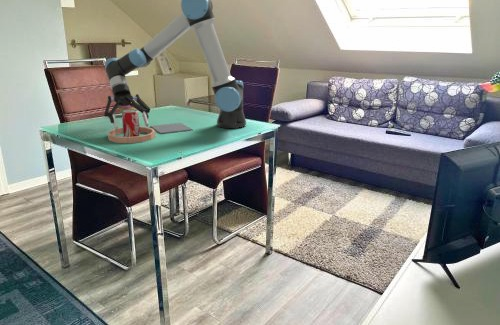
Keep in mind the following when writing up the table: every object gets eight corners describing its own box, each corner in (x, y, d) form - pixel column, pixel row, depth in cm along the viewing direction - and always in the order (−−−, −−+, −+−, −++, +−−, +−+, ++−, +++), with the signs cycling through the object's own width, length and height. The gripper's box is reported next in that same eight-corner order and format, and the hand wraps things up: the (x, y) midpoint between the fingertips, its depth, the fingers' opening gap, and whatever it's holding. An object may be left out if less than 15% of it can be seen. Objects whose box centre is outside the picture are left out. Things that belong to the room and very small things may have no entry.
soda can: (131, 140, 166) (129, 113, 162) (120, 137, 170) (117, 111, 166) (143, 136, 172) (141, 110, 168) (132, 134, 175) (130, 108, 172)
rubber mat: (180, 123, 198) (180, 122, 198) (192, 130, 185) (192, 129, 185) (150, 127, 190) (150, 125, 190) (160, 134, 177) (160, 132, 177)
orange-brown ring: (161, 132, 179) (160, 127, 178) (144, 144, 160) (144, 138, 160) (120, 130, 181) (120, 125, 181) (99, 141, 163) (99, 136, 162)
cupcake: (130, 117, 210) (128, 95, 206) (116, 116, 212) (114, 95, 208) (137, 114, 218) (135, 93, 214) (123, 113, 219) (122, 92, 216)
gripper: (145, 91, 184) (157, 128, 177) (90, 95, 171) (102, 134, 164) (148, 81, 178) (161, 119, 171) (92, 84, 165) (103, 125, 158)
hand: (132, 126), depth 167 cm, fingers open, 13 cm apart
